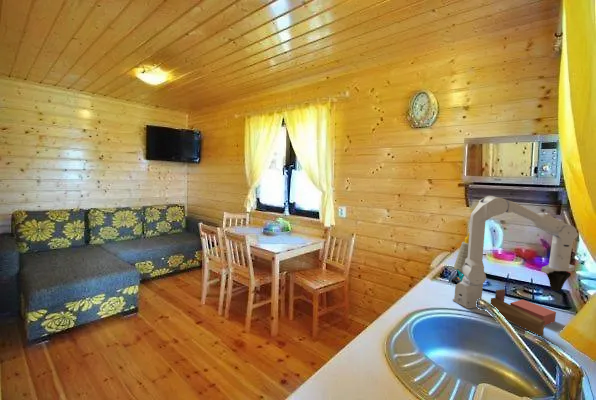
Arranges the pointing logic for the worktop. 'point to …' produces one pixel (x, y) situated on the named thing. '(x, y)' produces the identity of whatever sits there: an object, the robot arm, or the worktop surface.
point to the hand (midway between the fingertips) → (555, 289)
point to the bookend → (500, 294)
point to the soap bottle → (462, 255)
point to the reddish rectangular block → (536, 311)
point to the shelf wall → (519, 316)
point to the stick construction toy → (459, 276)
